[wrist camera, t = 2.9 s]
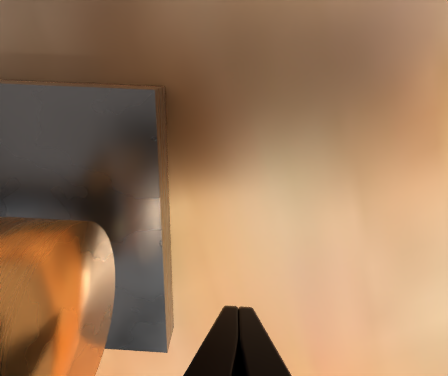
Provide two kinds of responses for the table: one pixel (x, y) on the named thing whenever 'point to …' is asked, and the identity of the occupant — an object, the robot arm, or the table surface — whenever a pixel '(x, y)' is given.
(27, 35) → the table surface
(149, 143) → the bearing frame
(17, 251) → the shaft
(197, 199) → the table surface
